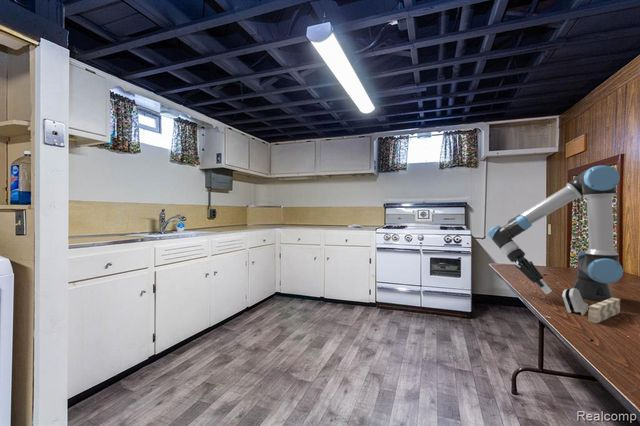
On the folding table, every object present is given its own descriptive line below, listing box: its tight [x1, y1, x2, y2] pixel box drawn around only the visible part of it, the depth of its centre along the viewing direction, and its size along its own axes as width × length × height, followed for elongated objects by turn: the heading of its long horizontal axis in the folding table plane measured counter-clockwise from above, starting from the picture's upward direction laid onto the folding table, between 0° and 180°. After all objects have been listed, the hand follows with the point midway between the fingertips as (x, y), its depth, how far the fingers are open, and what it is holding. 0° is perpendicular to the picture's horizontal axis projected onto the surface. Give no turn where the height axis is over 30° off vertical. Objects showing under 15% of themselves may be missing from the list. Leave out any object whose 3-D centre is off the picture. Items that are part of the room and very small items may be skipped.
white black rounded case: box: [561, 287, 590, 316], centre depth 132 cm, size 17×5×10 cm, turn 132°
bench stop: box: [587, 296, 621, 324], centre depth 123 cm, size 26×2×6 cm, turn 121°
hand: (549, 292), depth 140 cm, fingers closed
